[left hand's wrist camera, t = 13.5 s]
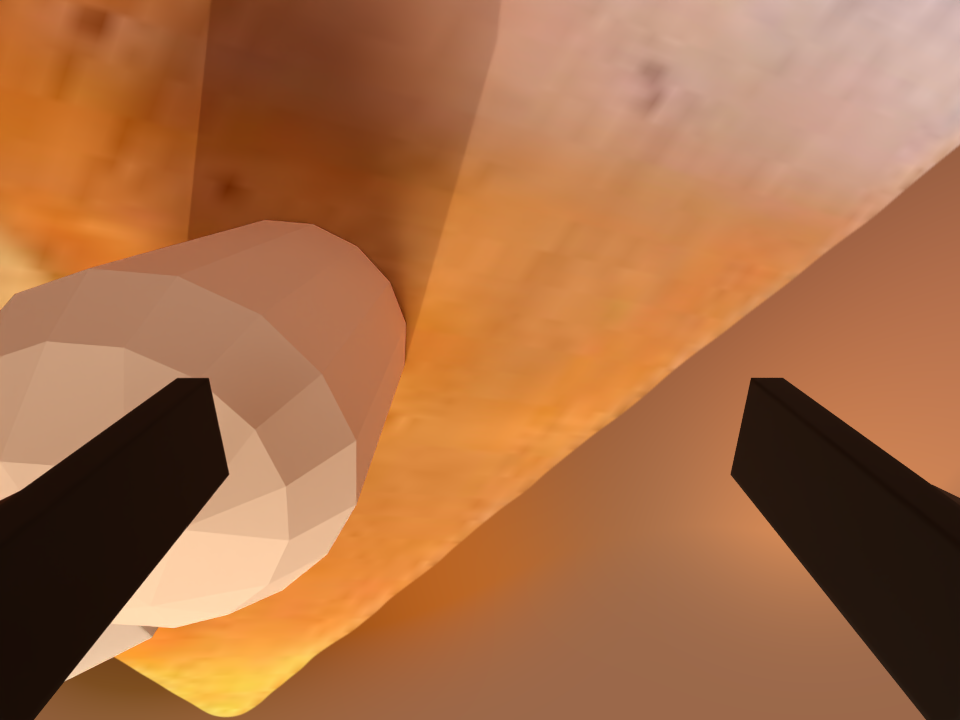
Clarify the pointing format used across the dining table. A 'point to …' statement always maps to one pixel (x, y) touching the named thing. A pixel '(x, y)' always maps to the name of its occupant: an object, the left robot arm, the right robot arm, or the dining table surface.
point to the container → (217, 394)
